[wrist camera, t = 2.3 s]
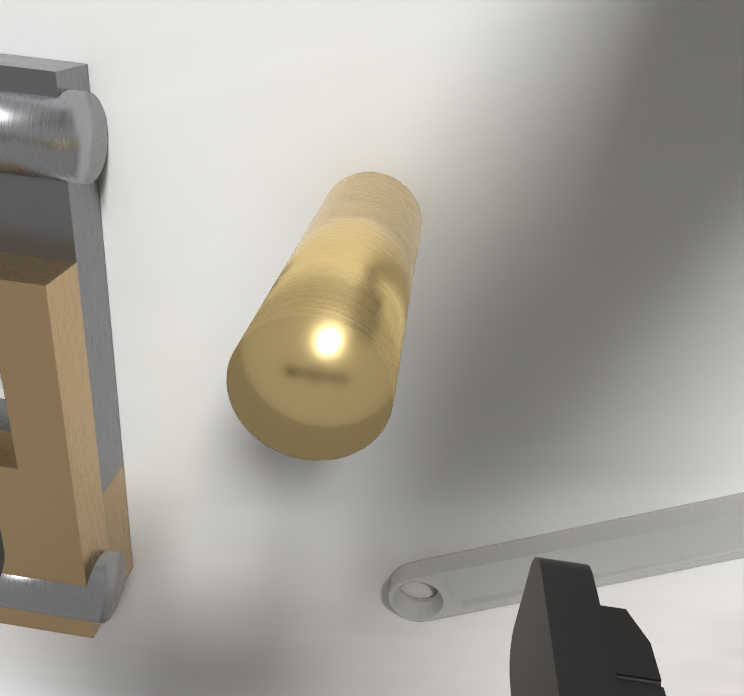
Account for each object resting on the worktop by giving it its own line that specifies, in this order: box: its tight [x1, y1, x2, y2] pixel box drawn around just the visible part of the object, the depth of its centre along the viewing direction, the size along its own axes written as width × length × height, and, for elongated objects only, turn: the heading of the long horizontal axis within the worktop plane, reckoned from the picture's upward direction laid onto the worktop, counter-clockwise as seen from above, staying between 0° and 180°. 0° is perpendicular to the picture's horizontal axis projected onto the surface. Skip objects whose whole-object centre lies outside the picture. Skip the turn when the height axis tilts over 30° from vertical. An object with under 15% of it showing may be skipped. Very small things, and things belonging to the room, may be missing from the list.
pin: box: [227, 172, 421, 460], centre depth 19 cm, size 3×3×11 cm
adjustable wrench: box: [388, 492, 744, 622], centre depth 28 cm, size 25×6×2 cm, turn 108°
